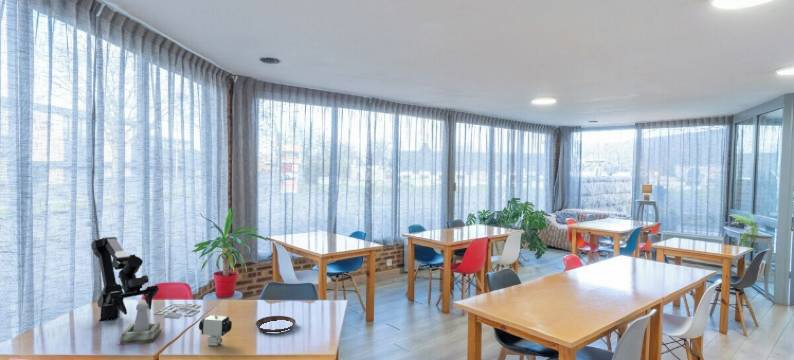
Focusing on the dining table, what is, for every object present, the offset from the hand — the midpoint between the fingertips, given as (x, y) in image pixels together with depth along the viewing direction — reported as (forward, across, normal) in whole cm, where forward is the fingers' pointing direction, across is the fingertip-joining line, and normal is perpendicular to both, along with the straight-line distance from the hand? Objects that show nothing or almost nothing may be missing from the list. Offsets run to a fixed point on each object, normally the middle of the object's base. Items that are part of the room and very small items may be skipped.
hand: (138, 311), depth 171 cm
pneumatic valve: (+30, +16, -16) cm, 37 cm away
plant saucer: (+32, +44, -17) cm, 57 cm away
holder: (+10, 0, +5) cm, 11 cm away
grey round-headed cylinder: (+9, 0, +4) cm, 10 cm away
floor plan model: (-3, +28, +19) cm, 34 cm away
